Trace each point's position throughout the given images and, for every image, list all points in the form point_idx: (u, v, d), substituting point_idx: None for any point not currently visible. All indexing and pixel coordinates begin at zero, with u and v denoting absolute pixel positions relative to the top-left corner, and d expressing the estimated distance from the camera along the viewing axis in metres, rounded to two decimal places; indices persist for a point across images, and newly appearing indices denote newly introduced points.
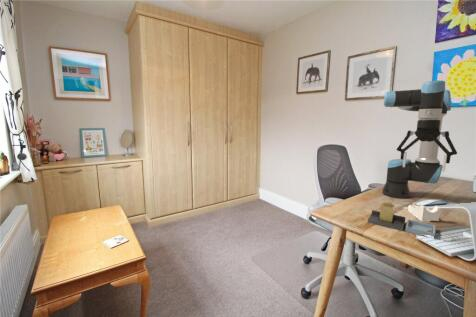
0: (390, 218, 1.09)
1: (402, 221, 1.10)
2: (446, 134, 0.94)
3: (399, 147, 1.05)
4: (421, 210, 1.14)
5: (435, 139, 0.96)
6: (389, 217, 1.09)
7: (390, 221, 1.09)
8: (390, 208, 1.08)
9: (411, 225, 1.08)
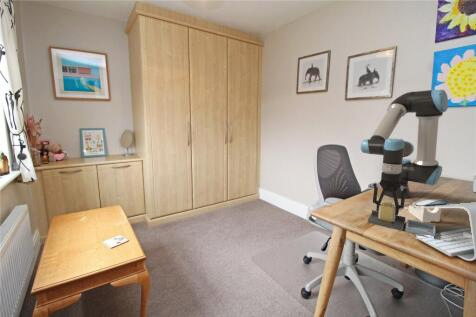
0: (390, 218, 1.09)
1: (402, 221, 1.10)
2: (404, 190, 1.05)
3: (374, 199, 1.13)
4: (421, 211, 1.13)
5: (393, 192, 1.07)
6: (389, 217, 1.09)
7: (390, 221, 1.09)
8: (390, 208, 1.08)
9: (411, 225, 1.08)
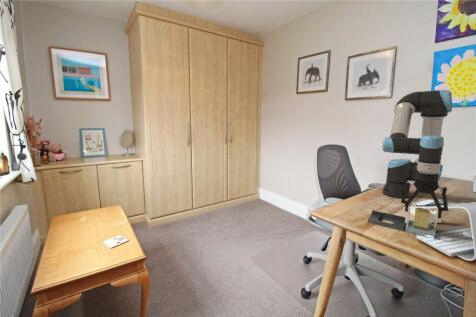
0: (426, 225, 1.00)
1: (402, 221, 1.10)
2: (444, 190, 0.96)
3: (403, 199, 1.06)
4: None
5: (432, 193, 0.98)
6: (424, 224, 1.01)
7: (426, 228, 1.01)
8: (426, 214, 1.00)
9: (411, 225, 1.08)
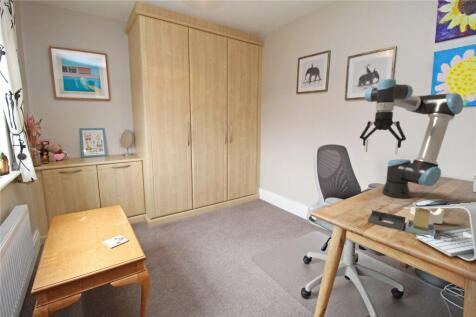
0: (426, 225, 1.00)
1: (402, 221, 1.10)
2: (397, 123, 1.14)
3: (361, 135, 1.24)
4: None
5: (389, 128, 1.16)
6: (424, 224, 1.01)
7: (426, 228, 1.01)
8: (426, 214, 1.00)
9: (411, 225, 1.08)
